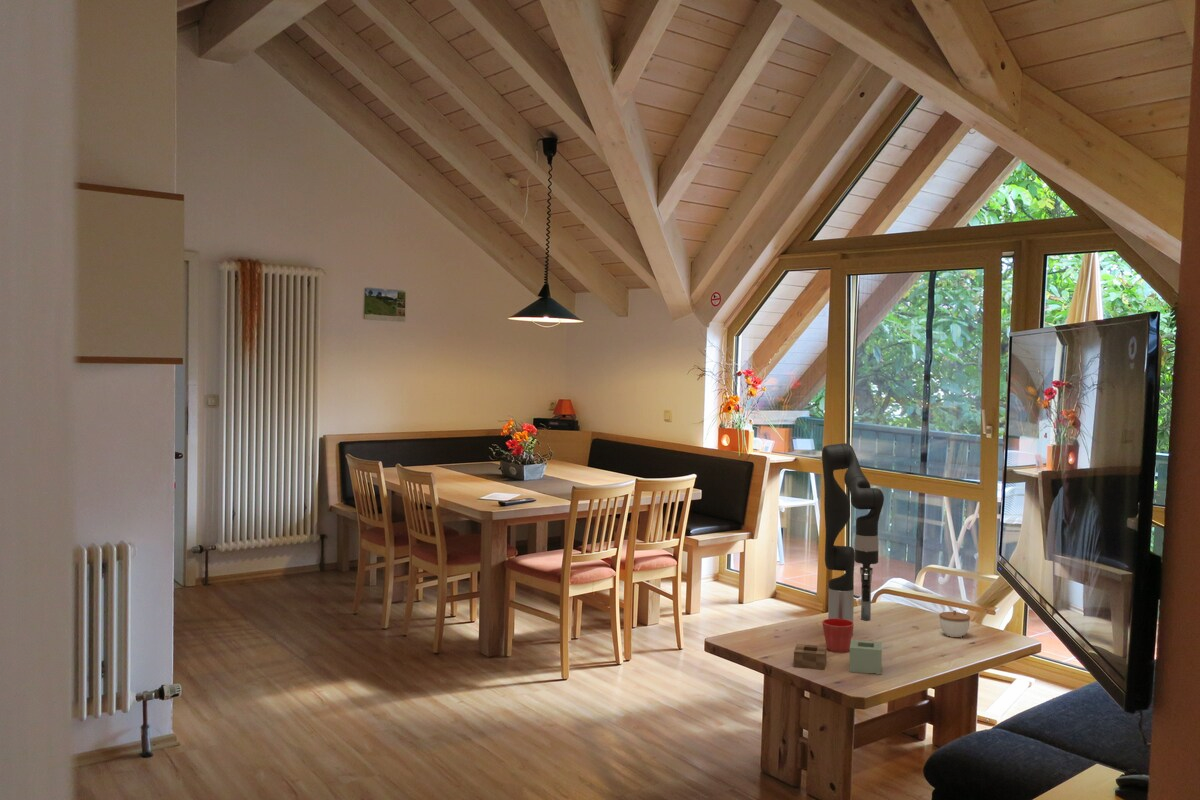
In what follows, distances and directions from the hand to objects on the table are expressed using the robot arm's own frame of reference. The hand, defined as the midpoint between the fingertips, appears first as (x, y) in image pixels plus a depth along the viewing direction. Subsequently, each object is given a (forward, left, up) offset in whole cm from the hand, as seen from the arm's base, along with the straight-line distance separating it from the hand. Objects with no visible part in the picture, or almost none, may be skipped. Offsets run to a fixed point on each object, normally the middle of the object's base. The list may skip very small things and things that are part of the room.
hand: (866, 599), depth 314 cm
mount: (0, -18, -23) cm, 29 cm away
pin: (0, 0, -7) cm, 7 cm away
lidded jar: (-53, +31, -23) cm, 66 cm away
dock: (0, 0, -23) cm, 23 cm away
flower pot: (-21, -10, -23) cm, 33 cm away
